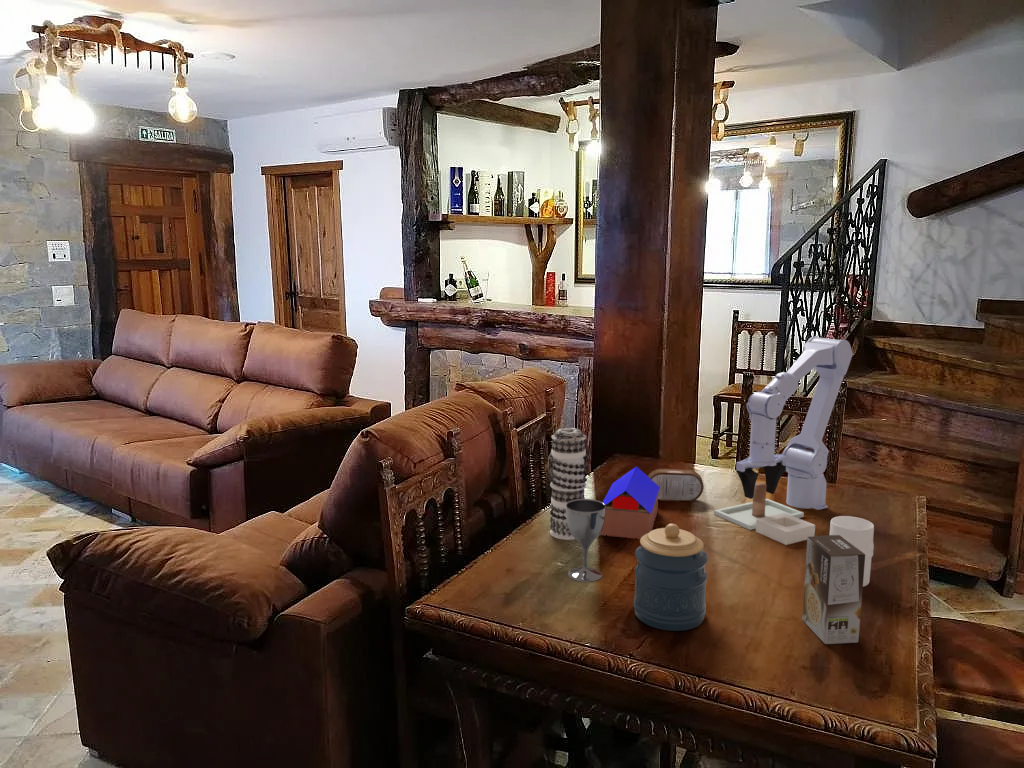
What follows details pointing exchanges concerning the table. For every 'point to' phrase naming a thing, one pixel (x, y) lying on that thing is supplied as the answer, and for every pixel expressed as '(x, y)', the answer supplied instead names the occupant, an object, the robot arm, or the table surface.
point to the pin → (759, 500)
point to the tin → (677, 484)
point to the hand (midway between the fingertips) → (759, 495)
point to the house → (631, 506)
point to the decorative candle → (566, 477)
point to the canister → (670, 579)
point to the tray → (744, 513)
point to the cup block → (785, 528)
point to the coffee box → (833, 589)
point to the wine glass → (585, 532)
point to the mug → (856, 537)
